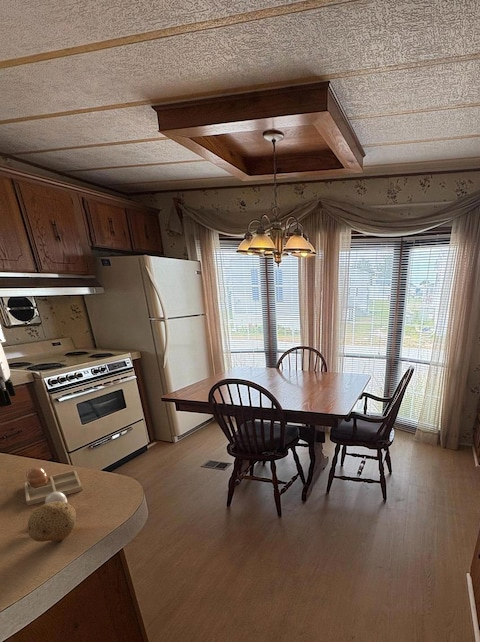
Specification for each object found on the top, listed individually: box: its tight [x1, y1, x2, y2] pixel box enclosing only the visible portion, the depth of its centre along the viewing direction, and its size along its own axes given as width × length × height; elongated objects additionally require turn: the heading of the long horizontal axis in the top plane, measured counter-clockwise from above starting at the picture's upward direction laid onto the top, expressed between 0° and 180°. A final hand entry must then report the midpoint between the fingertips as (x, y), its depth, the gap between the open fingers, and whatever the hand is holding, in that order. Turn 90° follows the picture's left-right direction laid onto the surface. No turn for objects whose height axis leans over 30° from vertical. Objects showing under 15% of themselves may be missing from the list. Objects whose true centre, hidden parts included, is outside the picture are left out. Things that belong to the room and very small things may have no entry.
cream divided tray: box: [23, 469, 83, 506], centre depth 101 cm, size 13×13×2 cm
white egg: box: [44, 492, 69, 504], centre depth 89 cm, size 4×4×6 cm
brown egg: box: [25, 466, 48, 489], centre depth 100 cm, size 4×4×6 cm
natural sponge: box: [27, 501, 77, 543], centre depth 79 cm, size 9×9×10 cm
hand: (6, 400), depth 93 cm, fingers open, 9 cm apart
